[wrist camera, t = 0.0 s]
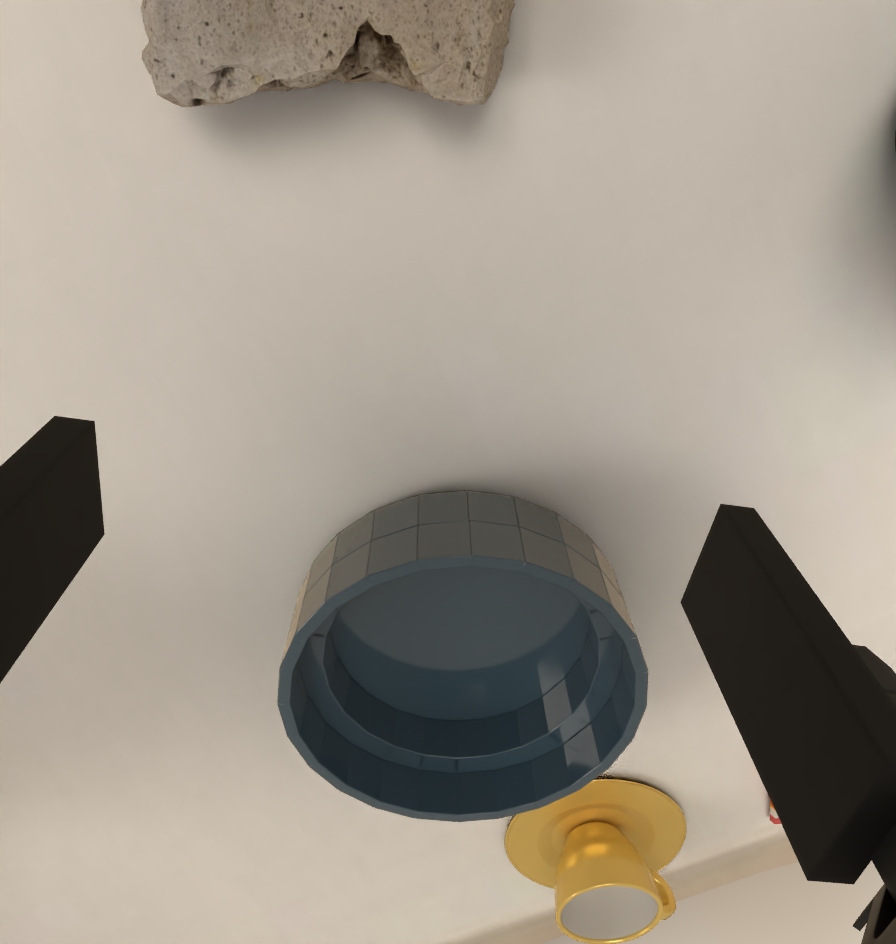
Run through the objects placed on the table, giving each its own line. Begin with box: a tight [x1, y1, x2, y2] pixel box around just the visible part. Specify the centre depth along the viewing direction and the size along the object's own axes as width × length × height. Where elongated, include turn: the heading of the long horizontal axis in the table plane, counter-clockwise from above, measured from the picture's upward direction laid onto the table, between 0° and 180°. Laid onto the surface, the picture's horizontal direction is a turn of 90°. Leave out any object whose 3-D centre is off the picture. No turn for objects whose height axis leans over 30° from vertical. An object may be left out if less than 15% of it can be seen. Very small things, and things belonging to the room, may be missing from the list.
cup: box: [505, 779, 686, 944], centre depth 46 cm, size 12×12×5 cm
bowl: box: [277, 490, 648, 822], centre depth 36 cm, size 17×17×6 cm
